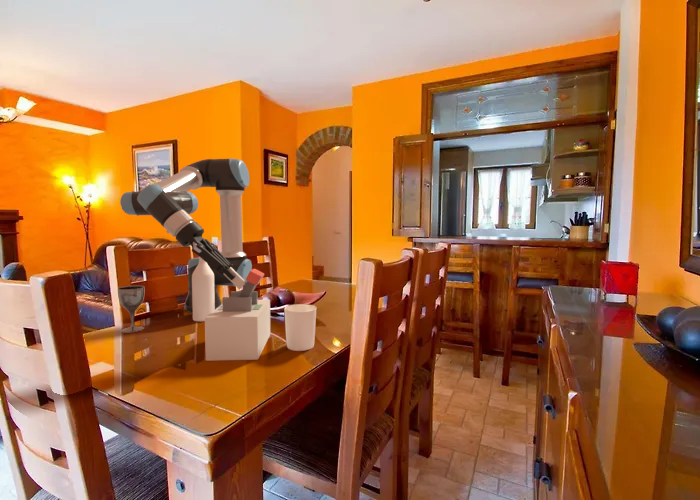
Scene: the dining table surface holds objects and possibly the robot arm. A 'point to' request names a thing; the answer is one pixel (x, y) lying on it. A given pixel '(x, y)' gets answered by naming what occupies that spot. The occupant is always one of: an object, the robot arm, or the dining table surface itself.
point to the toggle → (251, 282)
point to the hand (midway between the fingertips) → (242, 285)
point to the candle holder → (300, 326)
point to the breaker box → (237, 328)
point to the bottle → (202, 291)
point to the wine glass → (131, 303)
